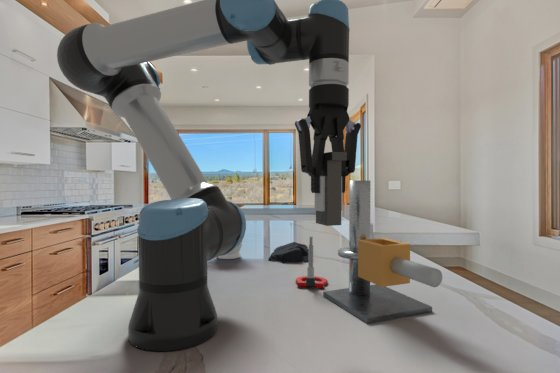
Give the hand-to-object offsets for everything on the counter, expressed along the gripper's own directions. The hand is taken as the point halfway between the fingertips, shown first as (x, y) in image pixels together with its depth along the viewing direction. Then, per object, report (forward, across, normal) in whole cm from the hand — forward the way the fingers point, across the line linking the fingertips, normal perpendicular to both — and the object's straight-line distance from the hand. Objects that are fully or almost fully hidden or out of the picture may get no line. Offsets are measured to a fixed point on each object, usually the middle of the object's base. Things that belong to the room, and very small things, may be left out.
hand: (328, 210), depth 66 cm
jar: (+22, -5, +62) cm, 66 cm away
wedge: (+3, 0, 0) cm, 3 cm away
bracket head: (+15, +14, -4) cm, 21 cm away
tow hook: (+22, +8, +23) cm, 33 cm away
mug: (+22, +39, +42) cm, 61 cm away
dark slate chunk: (+22, +17, +56) cm, 63 cm away
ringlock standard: (+21, +14, +6) cm, 26 cm away
